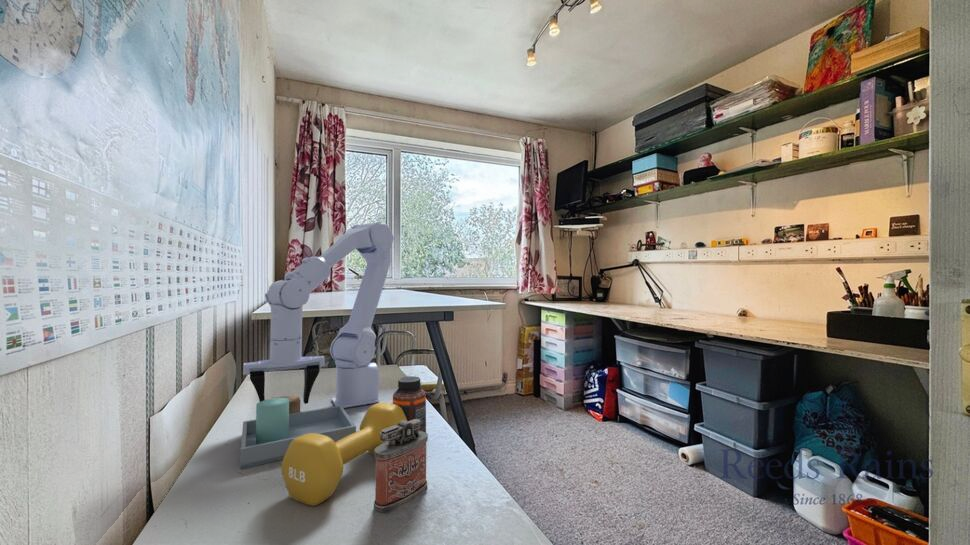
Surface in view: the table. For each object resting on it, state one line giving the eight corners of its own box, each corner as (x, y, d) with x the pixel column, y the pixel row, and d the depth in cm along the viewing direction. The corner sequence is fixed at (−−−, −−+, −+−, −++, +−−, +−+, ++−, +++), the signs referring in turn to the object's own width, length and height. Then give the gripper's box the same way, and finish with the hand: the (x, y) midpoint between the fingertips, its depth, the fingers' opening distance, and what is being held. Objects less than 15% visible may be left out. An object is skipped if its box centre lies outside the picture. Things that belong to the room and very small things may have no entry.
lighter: (416, 480, 53) (417, 411, 54) (432, 489, 51) (433, 417, 51) (368, 507, 47) (368, 428, 47) (383, 518, 45) (384, 435, 45)
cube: (297, 417, 78) (297, 394, 78) (300, 425, 74) (300, 400, 74) (270, 422, 76) (270, 397, 76) (271, 430, 71) (271, 404, 71)
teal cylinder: (259, 438, 66) (260, 399, 66) (290, 434, 68) (291, 396, 68) (252, 451, 61) (253, 408, 61) (286, 446, 63) (286, 405, 63)
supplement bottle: (429, 435, 69) (430, 374, 69) (421, 449, 63) (421, 383, 63) (398, 434, 70) (399, 374, 70) (387, 448, 64) (387, 382, 64)
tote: (341, 419, 77) (341, 405, 77) (355, 443, 66) (355, 426, 66) (242, 438, 68) (243, 421, 68) (240, 469, 57) (240, 449, 57)
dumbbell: (374, 443, 66) (374, 397, 66) (414, 453, 62) (415, 404, 62) (273, 498, 49) (274, 436, 49) (320, 517, 45) (321, 450, 45)
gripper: (321, 333, 82) (320, 394, 82) (244, 338, 75) (242, 405, 74) (326, 337, 76) (325, 403, 76) (243, 343, 69) (241, 416, 68)
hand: (284, 405), depth 75 cm, fingers open, 7 cm apart
